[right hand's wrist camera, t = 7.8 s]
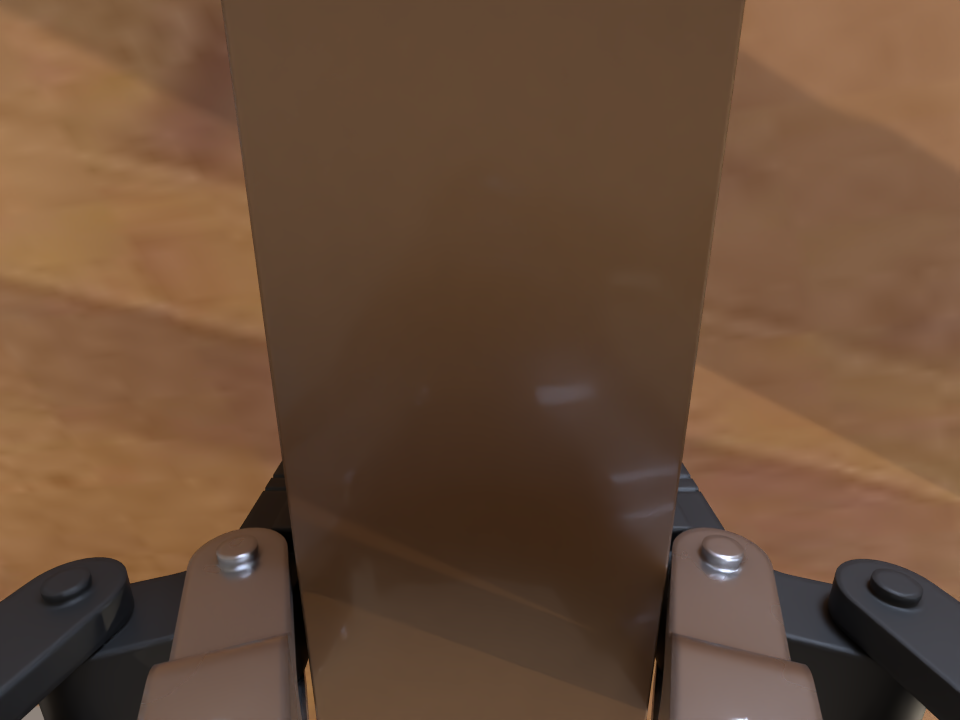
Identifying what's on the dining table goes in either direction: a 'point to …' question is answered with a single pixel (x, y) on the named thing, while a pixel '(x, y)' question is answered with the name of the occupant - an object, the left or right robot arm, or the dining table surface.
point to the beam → (482, 332)
